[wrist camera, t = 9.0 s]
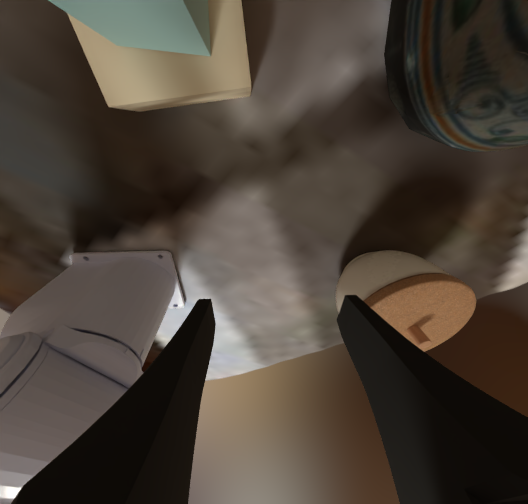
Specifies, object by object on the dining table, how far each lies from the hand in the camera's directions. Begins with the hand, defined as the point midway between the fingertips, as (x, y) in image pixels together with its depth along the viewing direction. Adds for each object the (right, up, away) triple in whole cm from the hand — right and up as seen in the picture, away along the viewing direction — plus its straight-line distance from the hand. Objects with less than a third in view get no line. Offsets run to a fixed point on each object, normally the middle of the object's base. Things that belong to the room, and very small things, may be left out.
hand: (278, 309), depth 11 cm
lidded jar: (+12, +1, +13) cm, 18 cm away
